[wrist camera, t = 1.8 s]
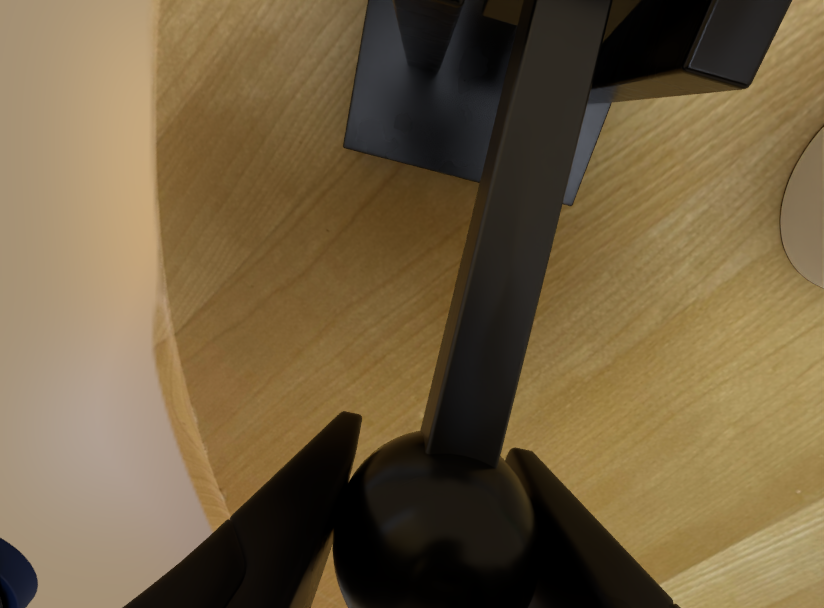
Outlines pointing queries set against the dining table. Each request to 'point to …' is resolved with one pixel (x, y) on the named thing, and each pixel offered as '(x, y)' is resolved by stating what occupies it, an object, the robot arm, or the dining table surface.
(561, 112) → the lever
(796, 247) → the mug
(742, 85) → the switch
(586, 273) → the dining table surface
